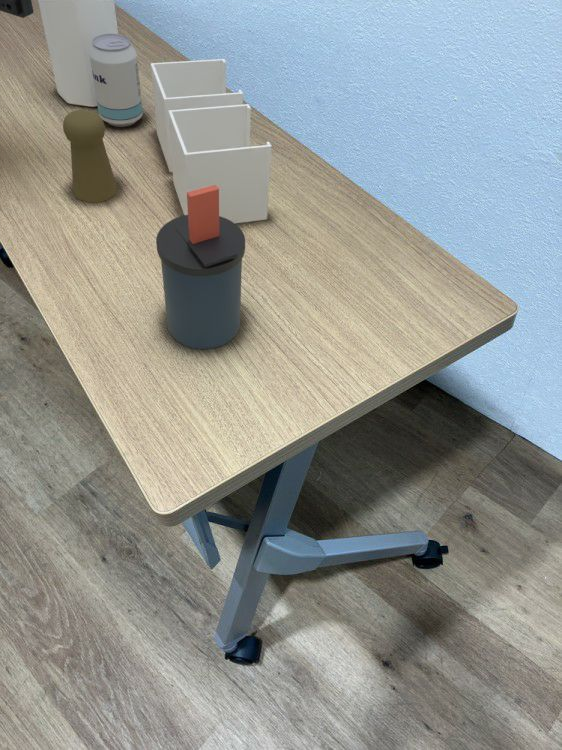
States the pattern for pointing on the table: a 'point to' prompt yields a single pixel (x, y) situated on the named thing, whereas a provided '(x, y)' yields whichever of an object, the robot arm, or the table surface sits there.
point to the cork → (89, 157)
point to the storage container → (210, 138)
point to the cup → (75, 43)
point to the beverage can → (116, 79)
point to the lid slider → (206, 227)
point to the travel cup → (200, 286)
